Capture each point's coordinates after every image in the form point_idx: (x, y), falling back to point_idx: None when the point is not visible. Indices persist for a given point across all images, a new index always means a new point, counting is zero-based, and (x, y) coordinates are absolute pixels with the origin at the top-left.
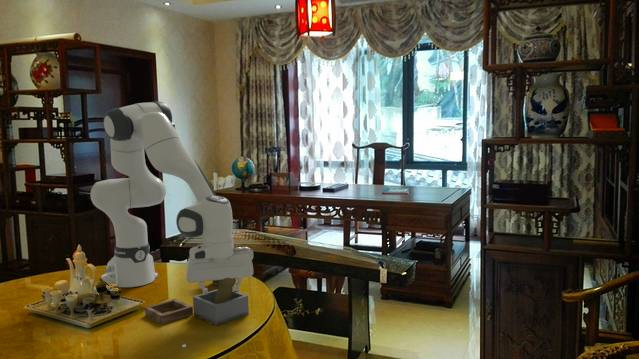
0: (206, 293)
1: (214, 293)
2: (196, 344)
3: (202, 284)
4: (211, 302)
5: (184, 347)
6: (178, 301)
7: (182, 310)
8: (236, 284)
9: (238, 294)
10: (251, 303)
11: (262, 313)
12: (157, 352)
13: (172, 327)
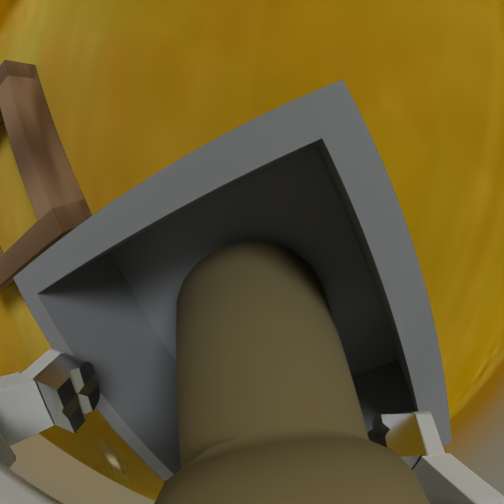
0: (82, 406)
1: (181, 207)
2: (145, 475)
3: (8, 454)
4: (150, 451)
5: (116, 469)
6: (9, 108)
7: (28, 260)
8: (420, 474)
9: (412, 389)
10: (496, 180)
11: (475, 364)
12: (63, 448)
13: (42, 333)
